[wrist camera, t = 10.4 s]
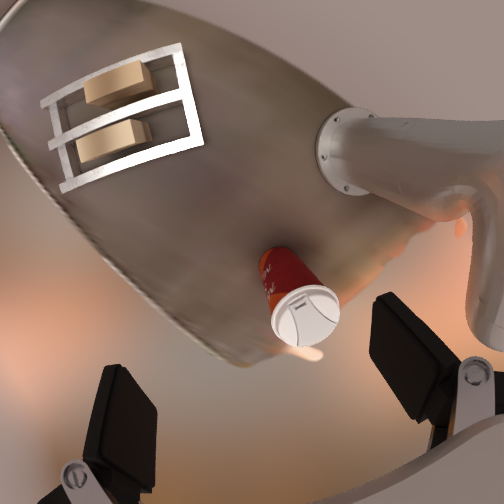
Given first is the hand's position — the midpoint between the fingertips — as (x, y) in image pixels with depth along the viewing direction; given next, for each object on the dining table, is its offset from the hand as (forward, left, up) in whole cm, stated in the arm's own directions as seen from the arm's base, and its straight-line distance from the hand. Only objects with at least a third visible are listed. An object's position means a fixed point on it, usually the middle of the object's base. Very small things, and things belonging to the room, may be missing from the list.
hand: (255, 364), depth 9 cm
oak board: (+7, -16, -28) cm, 33 cm away
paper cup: (-6, +12, -28) cm, 32 cm away
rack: (+9, -13, -28) cm, 32 cm away
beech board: (+9, -10, -28) cm, 32 cm away
